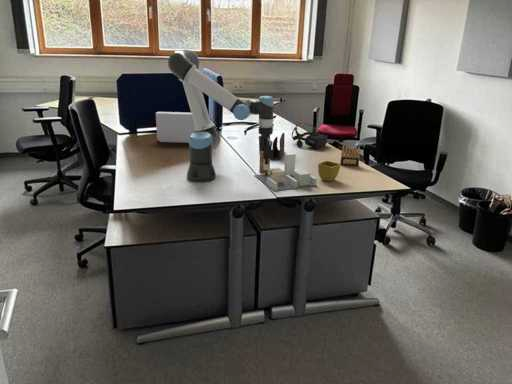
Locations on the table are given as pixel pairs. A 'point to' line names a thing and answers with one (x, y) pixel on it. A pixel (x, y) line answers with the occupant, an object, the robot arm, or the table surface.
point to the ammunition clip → (350, 157)
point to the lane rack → (284, 182)
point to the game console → (174, 126)
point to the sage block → (289, 169)
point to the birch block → (271, 170)
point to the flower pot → (328, 170)
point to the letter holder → (275, 152)
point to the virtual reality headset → (310, 138)
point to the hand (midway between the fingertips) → (264, 168)
